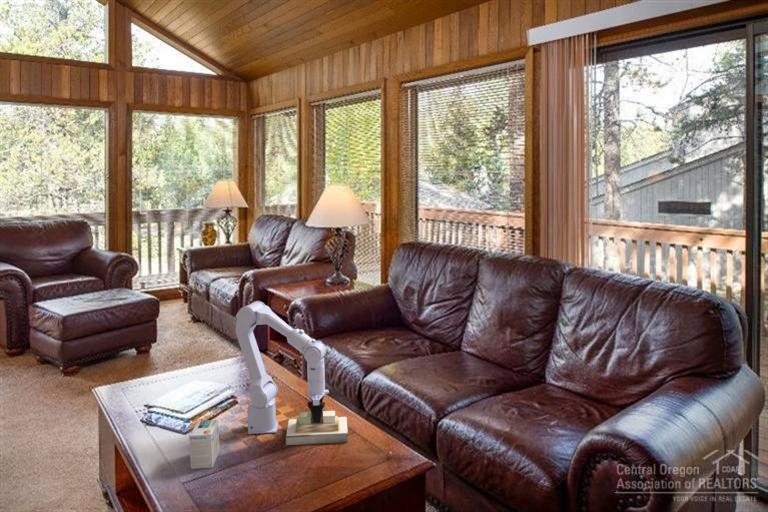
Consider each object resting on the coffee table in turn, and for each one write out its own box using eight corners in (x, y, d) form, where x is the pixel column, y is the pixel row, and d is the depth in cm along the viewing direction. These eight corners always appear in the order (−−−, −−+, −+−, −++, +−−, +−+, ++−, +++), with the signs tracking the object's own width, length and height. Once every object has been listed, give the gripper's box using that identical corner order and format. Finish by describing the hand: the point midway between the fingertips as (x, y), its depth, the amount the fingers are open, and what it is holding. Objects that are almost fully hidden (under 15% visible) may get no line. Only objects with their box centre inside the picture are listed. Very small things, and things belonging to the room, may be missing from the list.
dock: (286, 445, 187) (285, 437, 186) (289, 426, 201) (289, 419, 200) (347, 442, 189) (347, 434, 188) (346, 423, 202) (346, 416, 202)
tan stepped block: (295, 432, 190) (295, 415, 189) (297, 423, 197) (296, 406, 196) (338, 430, 191) (338, 413, 190) (338, 421, 198) (337, 404, 197)
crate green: (298, 424, 191) (298, 417, 191) (299, 419, 195) (299, 412, 195) (310, 423, 192) (310, 416, 191) (311, 418, 196) (311, 411, 195)
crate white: (323, 423, 192) (323, 416, 192) (323, 418, 196) (323, 411, 196) (335, 422, 192) (335, 415, 192) (335, 417, 196) (335, 410, 196)
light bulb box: (198, 452, 183) (196, 419, 181) (220, 451, 183) (218, 419, 182) (190, 469, 172) (188, 435, 171) (213, 468, 173) (211, 434, 171)
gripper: (328, 386, 185) (329, 426, 187) (328, 370, 199) (329, 407, 201) (305, 387, 184) (307, 427, 186) (307, 371, 199) (308, 408, 201)
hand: (317, 417), depth 194 cm, fingers open, 7 cm apart
